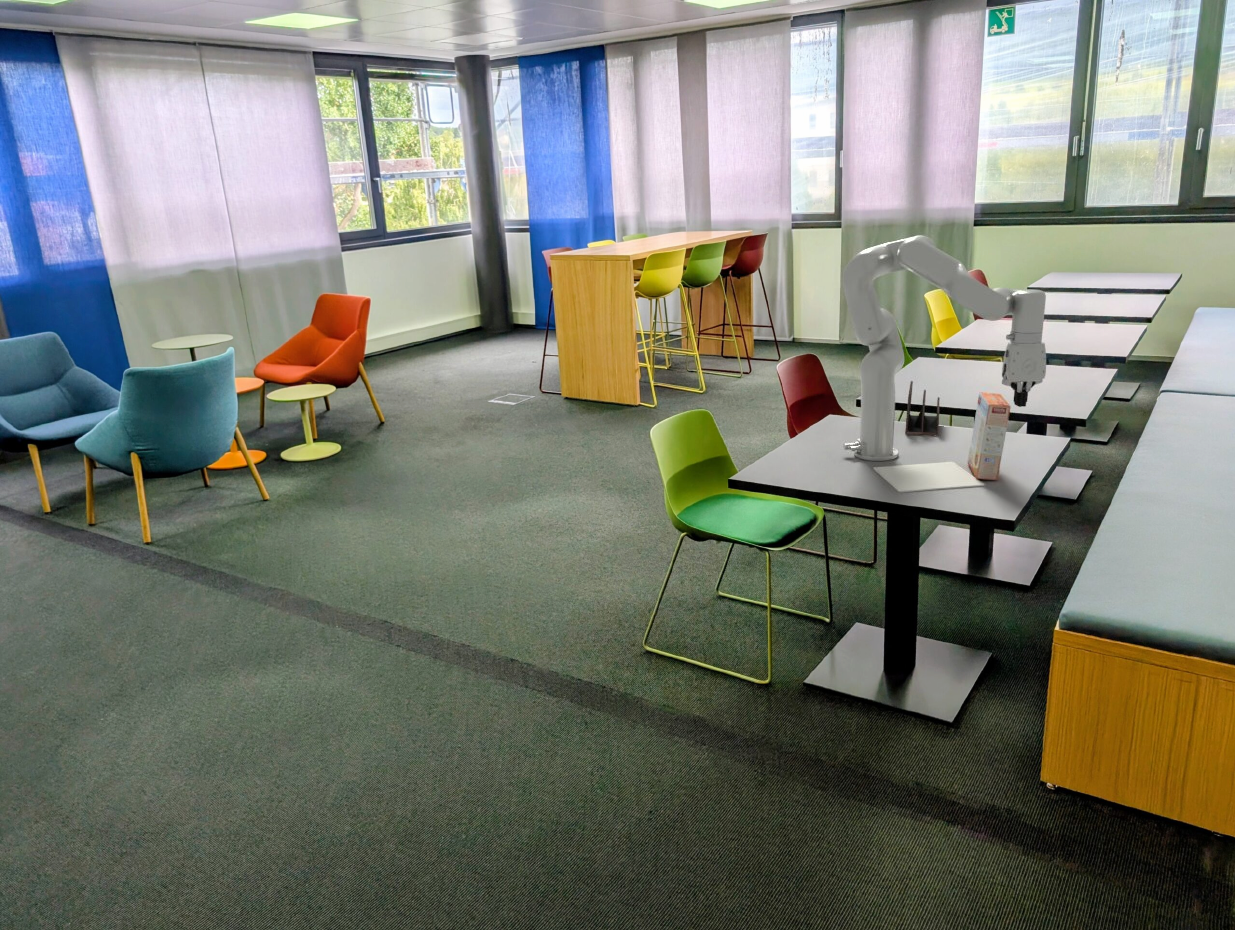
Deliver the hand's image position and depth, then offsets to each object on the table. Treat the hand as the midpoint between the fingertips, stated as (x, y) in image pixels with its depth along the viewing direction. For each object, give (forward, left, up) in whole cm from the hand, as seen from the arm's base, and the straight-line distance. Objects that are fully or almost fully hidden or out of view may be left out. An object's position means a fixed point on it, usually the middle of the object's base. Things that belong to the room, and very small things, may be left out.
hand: (1019, 405), depth 244 cm
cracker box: (-9, 0, -18) cm, 21 cm away
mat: (-24, 0, -19) cm, 31 cm away
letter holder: (-7, +47, -19) cm, 51 cm away
